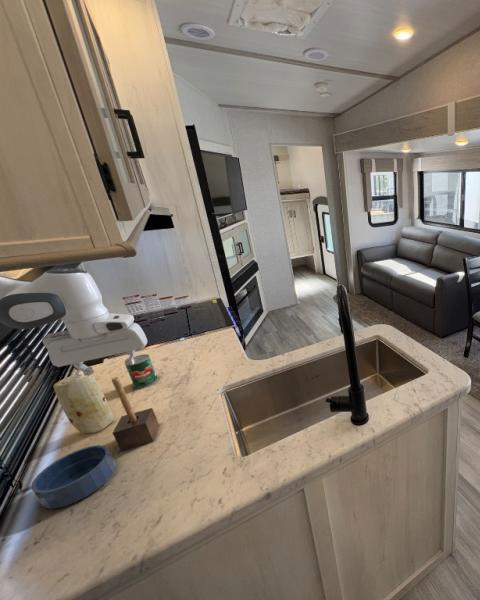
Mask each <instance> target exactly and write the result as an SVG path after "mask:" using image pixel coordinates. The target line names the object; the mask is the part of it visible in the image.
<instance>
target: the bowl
mask: <svg viewBox="0 0 480 600" xmlns="http://www.w3.org/2000/svg"><path fill="white" fill-rule="evenodd" d="M116 469H117V463H116V460H115V459H114V457H113V454H112V452H111V451H110V449H109V447H107V446H106V445H100V444H97V445H91V446H86V447H83V448H79V449H77V450H75V451H73V452H70V453H67V454H66V455H64V456H62V457H60V458H59V459H57V460H55V461H54V462H52V463H51V464H49V465H48V466H46V467H45V468H44V469H43V470H42V471H40V472H39V473H38V474H37V475H36V477H35V478H34V479H33V481H32V482H31V485H30V486H31V487H30V489H31V491H32V493H33V494H34V496H35V497H36V498H37V501H38V502H39V503H40V505H41V506H42V507H43V508H44V509H49V510H50V509H51V510H53V509H59V508H64V507H66V506H69V505H72V504H74V503H76V502H78V501H80V500H82V499H84V498H86V497H88V496H89V495H91V494H93V493H95V492H96V491H97V490H99V489H100V488H101V487H102V486H103V485H104V484H106V483H107V482H108V481H109V480H110V478H111V477H112V476H113V475H114V473H115V472H116Z"/></svg>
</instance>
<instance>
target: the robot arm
mask: <svg viewBox="0 0 480 600" xmlns="http://www.w3.org/2000/svg"><path fill="white" fill-rule="evenodd" d="M58 320H62V321H63V324H64V326H65V328H66V330H61V331H57V332H51V333H47V335H45V336H44V337H43V338H42V344H43V346H44V348H45V349H46V350H47V353H48V357H49V360H50V362H51V364H52V365H53V366H55V367H57V368H60V367H66V366H69V365H73V367H74V368H75V369H77V370H79V371H81V372H82V374H84V375H85V376H87V375H91V374H93V375H94V373H95V371H94V369H93V366H88V365H86V364H84V363H85V362H87V361H92V360H98V359H102V358H106V357H110V356H116V355H120V354H124V353H126V355H127V356H129V357H127V358H126V359H125V360H124V364H125V363H126V365H127V366H130V365H134V363H135V361H134V359H133V357H135V354H136V351H137V350H142V349H144V348H145V347H146V345H147V344H148V339H147V335H146V334H145V332H144V330H143V329H142V327H141V326H140V324H138V323H136V322H134V321H135V317H134V315H133V314H127V313H125V314H123V313H111V312H109V310H108V308H107V307H106V306H105V305H104V302H103V296H102V293H101V291H100V289H99V287H98V285H97V283H96V281H95V280H94V278H93V277H92V275H91V274H90V273H89V272H88V271H86V270H84V269H81V268H73V267H65V268H63V267H62V268H54V269H49V270H46V271H44V273H43V274H42V275H41V276H39V277H37V278H36V279H19V278H12V277H8V276H4V275H0V323H1V324H3V325H4V326H6V327H9V328H13V329H17V330H32V329H36V328H40V327H43V326H45V325H48V324H51V323H53V322H56V321H58ZM126 365H125V366H126Z"/></svg>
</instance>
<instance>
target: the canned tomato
mask: <svg viewBox="0 0 480 600" xmlns="http://www.w3.org/2000/svg"><path fill="white" fill-rule="evenodd" d="M133 359H134V361H135V363H134V365H130V366H127V365H126V363H125V362H124V365H125V368H126V370H127V373H128V375H129V377H130V380H131V382H132V384H133V387H134V388H135V389H143V388H147V387H149V386H151V385H153V384H156V382H157V381H158V380H159V377H158V375H157V372H156V371H155V367H154V365H153V362H152V359H151V356H150V355H149V354H147V353H146V354H145V353H144V354H138V355H136V356H135V355H134V356H133Z"/></svg>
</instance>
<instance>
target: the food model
mask: <svg viewBox="0 0 480 600" xmlns="http://www.w3.org/2000/svg"><path fill="white" fill-rule="evenodd" d="M53 390H54V393H55V395H56V398H57V401H58V402H59V405H60V407H61V408H62V411H63V412H64V414H65V416H66V417H67V419H68V421H69V423H70V424H71V425H72V426H73V427H74V429H76V430H77V431H78V432H79V433H81V434H88V433H93V434H95V433H98V432H101V431H103V430H104V429H105V428H106V427H108V426H109V425H111V423H113V422H114V421H115V416H114V414H113V413H112V409H111V407H110V404H109V402H108V400H107V398H106V396H105V394H104V391H103V389H102V388H101V386H100V385H99V383H98V382H97V379H96V378H95V376H94V373H93V374H91V375H87V376H85V375H84V373H80V374H74V375H70V376H67V377H64V378H63V379H61V380H59V381H57V382H55V383H54V384H53Z"/></svg>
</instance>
